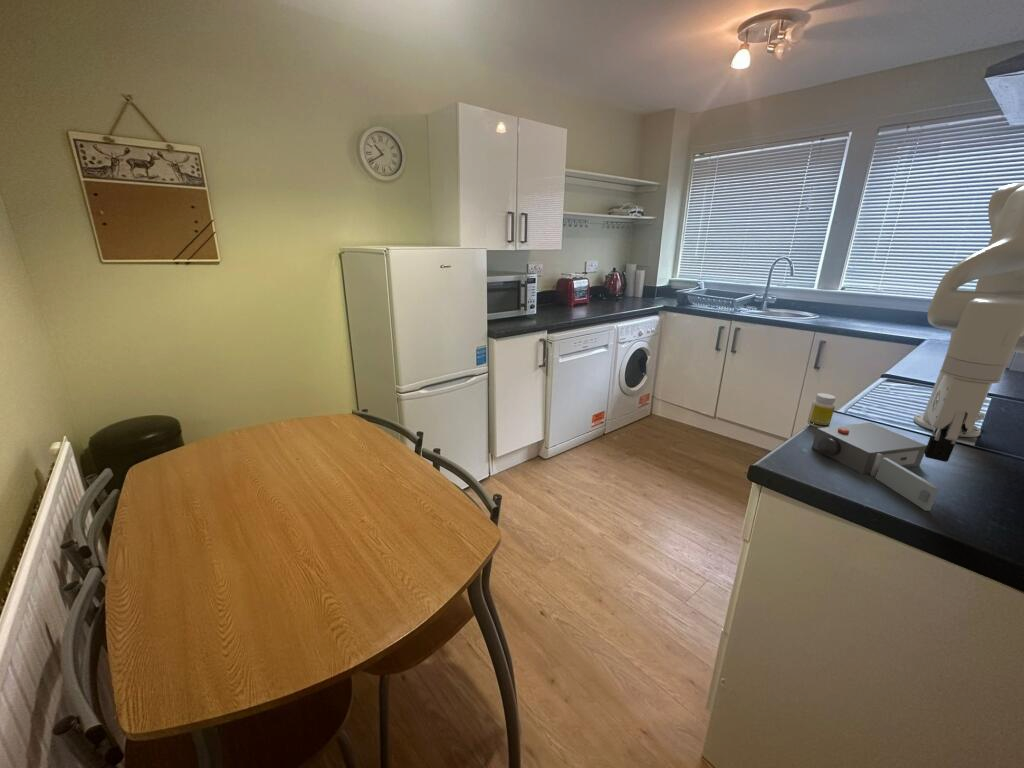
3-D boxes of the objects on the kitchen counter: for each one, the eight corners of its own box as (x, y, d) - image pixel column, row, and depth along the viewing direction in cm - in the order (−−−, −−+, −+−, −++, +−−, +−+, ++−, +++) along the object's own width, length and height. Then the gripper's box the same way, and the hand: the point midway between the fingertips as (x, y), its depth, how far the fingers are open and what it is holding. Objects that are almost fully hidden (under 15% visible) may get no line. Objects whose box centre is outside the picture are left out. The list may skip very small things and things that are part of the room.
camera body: (864, 441, 102) (871, 420, 100) (926, 469, 90) (935, 446, 88) (805, 447, 98) (811, 426, 96) (861, 478, 86) (870, 454, 84)
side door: (930, 510, 76) (939, 488, 74) (921, 510, 76) (930, 488, 74) (879, 478, 86) (886, 457, 84) (871, 478, 86) (879, 457, 84)
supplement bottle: (832, 429, 108) (841, 399, 105) (812, 428, 109) (820, 398, 106) (823, 422, 112) (831, 393, 109) (803, 420, 113) (811, 391, 110)
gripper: (937, 355, 82) (906, 437, 88) (948, 375, 71) (912, 468, 77) (993, 362, 77) (956, 448, 84) (1014, 385, 66) (969, 482, 73)
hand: (935, 457), depth 81 cm, fingers closed
